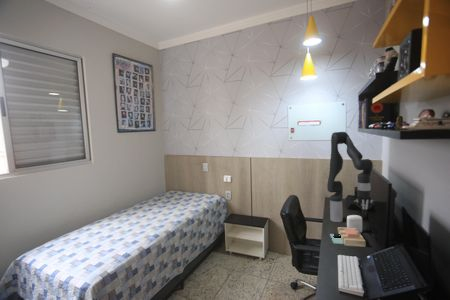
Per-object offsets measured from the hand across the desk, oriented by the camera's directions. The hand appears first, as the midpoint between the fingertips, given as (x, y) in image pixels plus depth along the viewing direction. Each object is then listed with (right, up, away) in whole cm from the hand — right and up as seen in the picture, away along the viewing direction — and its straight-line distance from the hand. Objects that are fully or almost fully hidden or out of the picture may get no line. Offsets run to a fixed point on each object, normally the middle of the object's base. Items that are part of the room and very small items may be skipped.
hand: (364, 214), depth 152 cm
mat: (-16, -19, +6) cm, 25 cm away
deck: (-7, -18, +4) cm, 20 cm away
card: (-7, -14, +3) cm, 16 cm away
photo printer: (+2, -17, +15) cm, 23 cm away
